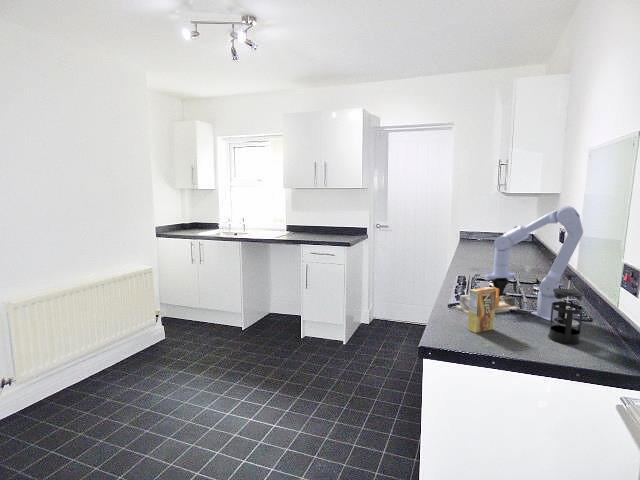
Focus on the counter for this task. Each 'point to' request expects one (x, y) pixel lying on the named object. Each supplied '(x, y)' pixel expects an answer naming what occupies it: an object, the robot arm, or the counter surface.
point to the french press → (565, 316)
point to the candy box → (481, 309)
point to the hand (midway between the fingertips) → (498, 295)
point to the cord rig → (504, 306)
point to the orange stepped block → (496, 297)
